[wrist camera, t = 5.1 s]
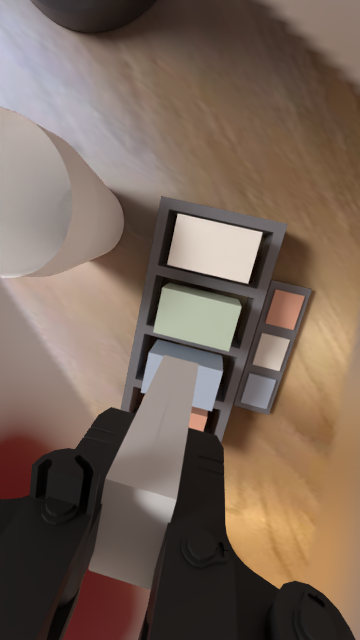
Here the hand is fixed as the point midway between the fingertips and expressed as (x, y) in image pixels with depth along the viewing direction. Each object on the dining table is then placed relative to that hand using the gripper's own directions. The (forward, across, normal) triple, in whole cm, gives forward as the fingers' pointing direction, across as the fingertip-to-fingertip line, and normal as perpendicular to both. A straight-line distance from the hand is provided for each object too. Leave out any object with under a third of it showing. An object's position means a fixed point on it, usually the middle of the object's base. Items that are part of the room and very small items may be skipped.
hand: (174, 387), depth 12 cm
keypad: (+16, 0, -2) cm, 16 cm away
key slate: (+13, 0, -5) cm, 14 cm away
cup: (+17, -12, +5) cm, 21 cm away
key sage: (+13, 0, 0) cm, 13 cm away
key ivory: (+14, 0, +6) cm, 15 cm away
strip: (+16, +8, -2) cm, 18 cm away
